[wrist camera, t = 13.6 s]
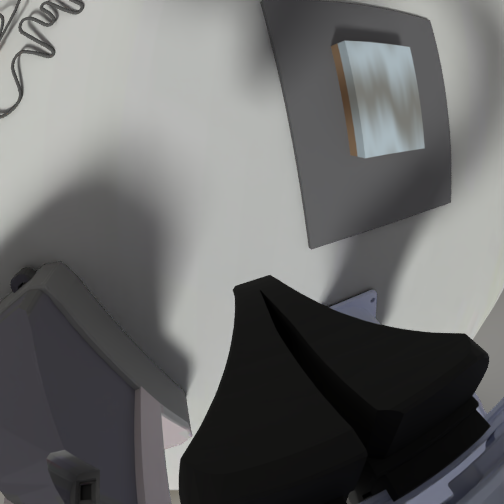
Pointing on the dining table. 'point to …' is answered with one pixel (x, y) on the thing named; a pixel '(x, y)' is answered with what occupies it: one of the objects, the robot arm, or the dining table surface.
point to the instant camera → (80, 400)
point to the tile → (379, 98)
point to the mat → (334, 124)
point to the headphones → (33, 39)
